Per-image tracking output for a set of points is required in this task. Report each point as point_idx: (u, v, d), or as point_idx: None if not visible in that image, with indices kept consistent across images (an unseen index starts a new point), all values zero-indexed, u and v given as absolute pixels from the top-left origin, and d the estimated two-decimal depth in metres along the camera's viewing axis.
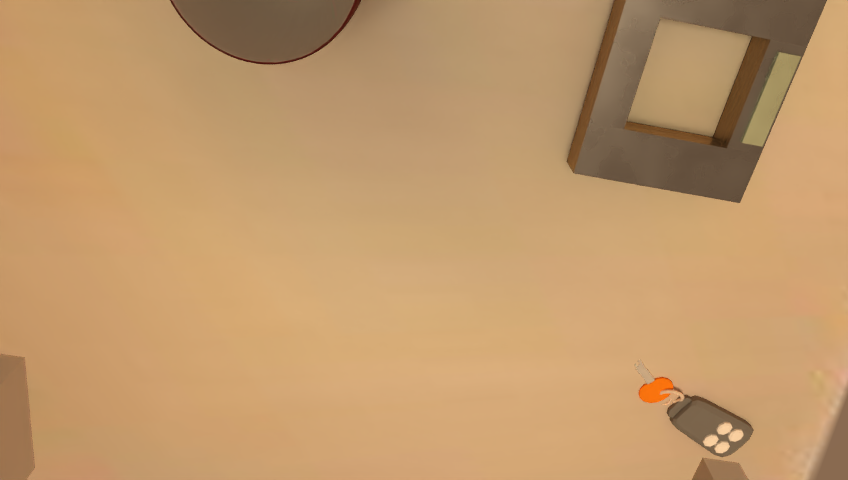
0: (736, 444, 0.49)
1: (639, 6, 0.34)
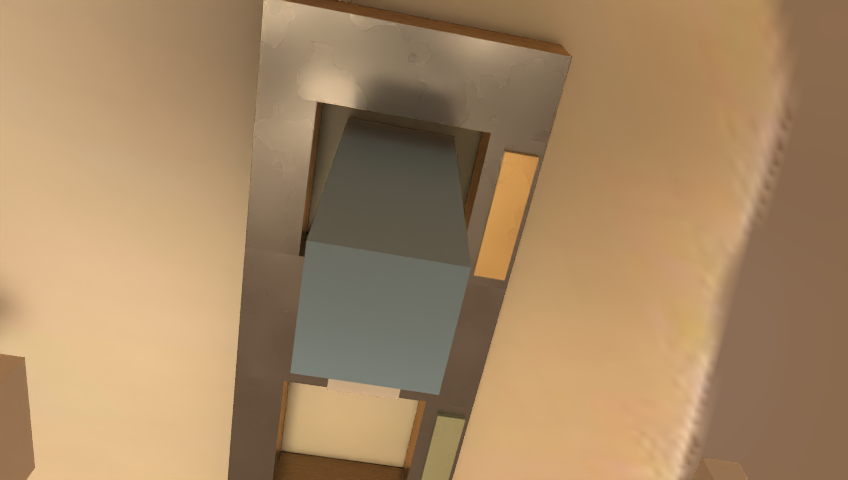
0: None
1: (255, 370, 0.28)
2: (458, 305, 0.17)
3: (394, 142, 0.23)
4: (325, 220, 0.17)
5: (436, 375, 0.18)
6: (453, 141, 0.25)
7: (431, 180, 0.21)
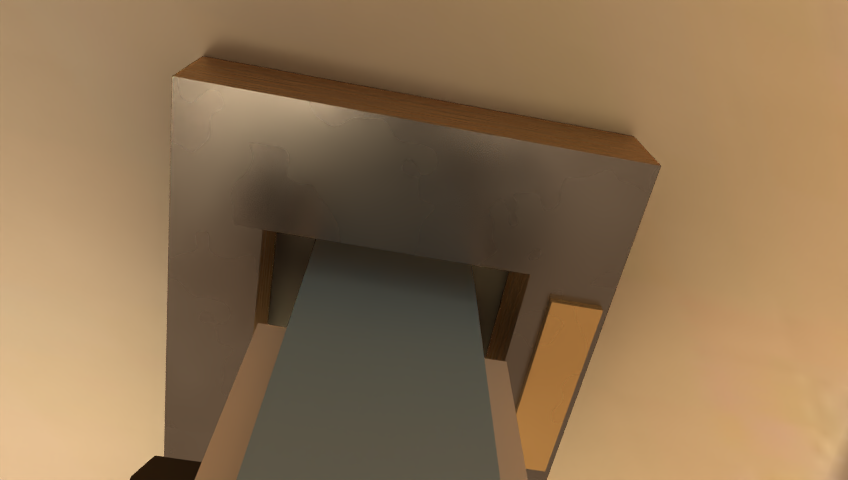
0: None
1: None
2: None
3: (383, 286, 0.15)
4: None
5: None
6: (471, 274, 0.17)
7: (440, 375, 0.13)
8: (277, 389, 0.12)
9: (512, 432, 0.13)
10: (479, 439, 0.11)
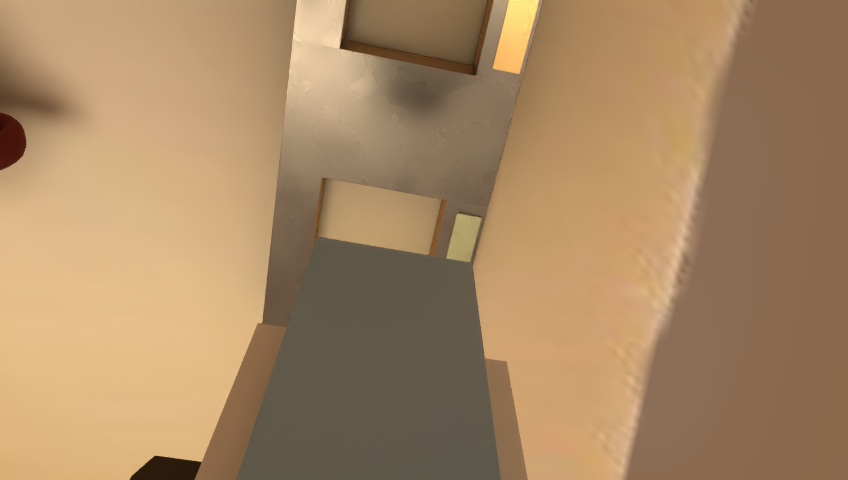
0: None
1: (296, 165, 0.31)
2: None
3: (383, 285, 0.15)
4: None
5: None
6: (471, 273, 0.17)
7: (441, 375, 0.13)
8: (277, 388, 0.12)
9: (512, 432, 0.13)
10: (479, 438, 0.11)
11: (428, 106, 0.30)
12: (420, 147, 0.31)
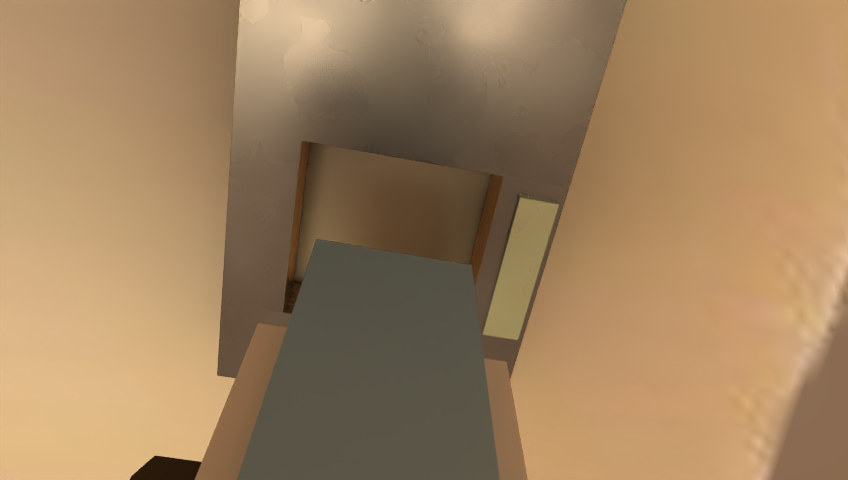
0: None
1: (260, 121, 0.19)
2: None
3: (382, 288, 0.15)
4: None
5: None
6: (471, 275, 0.17)
7: (440, 377, 0.13)
8: (277, 391, 0.12)
9: (512, 432, 0.13)
10: (479, 441, 0.11)
11: (478, 16, 0.18)
12: (463, 87, 0.19)
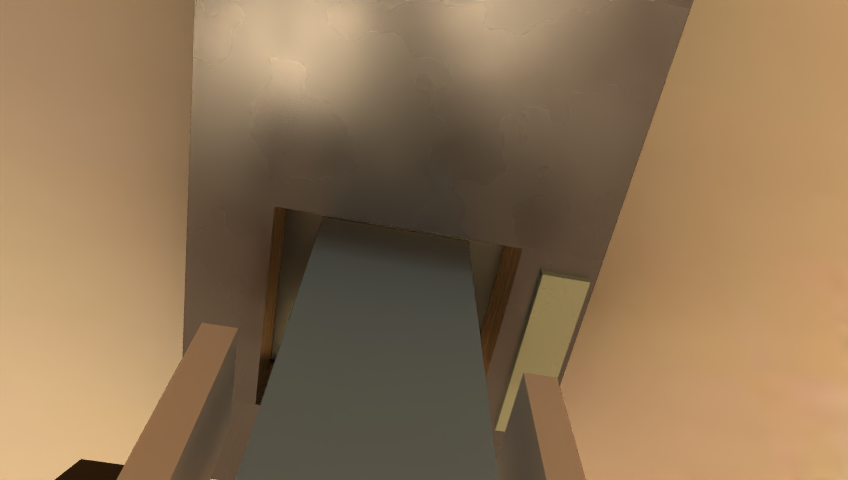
0: None
1: (222, 184, 0.15)
2: None
3: (385, 260, 0.17)
4: (262, 459, 0.10)
5: None
6: (467, 250, 0.18)
7: (438, 337, 0.14)
8: (289, 346, 0.13)
9: (571, 451, 0.13)
10: (473, 391, 0.13)
11: (493, 57, 0.14)
12: (473, 144, 0.15)
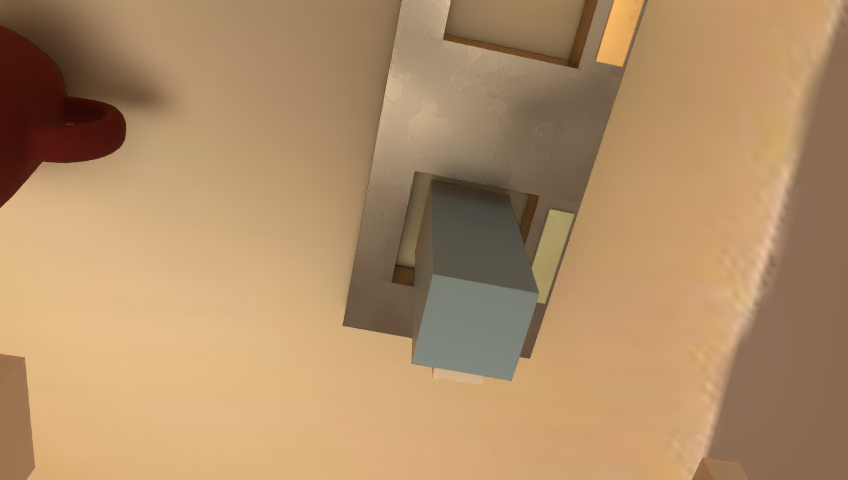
0: None
1: (390, 159, 0.31)
2: (529, 318, 0.25)
3: (468, 201, 0.32)
4: (440, 260, 0.25)
5: (510, 367, 0.26)
6: (509, 199, 0.33)
7: (500, 231, 0.29)
8: (436, 229, 0.28)
9: None
10: (519, 250, 0.28)
11: (528, 99, 0.30)
12: (516, 140, 0.30)
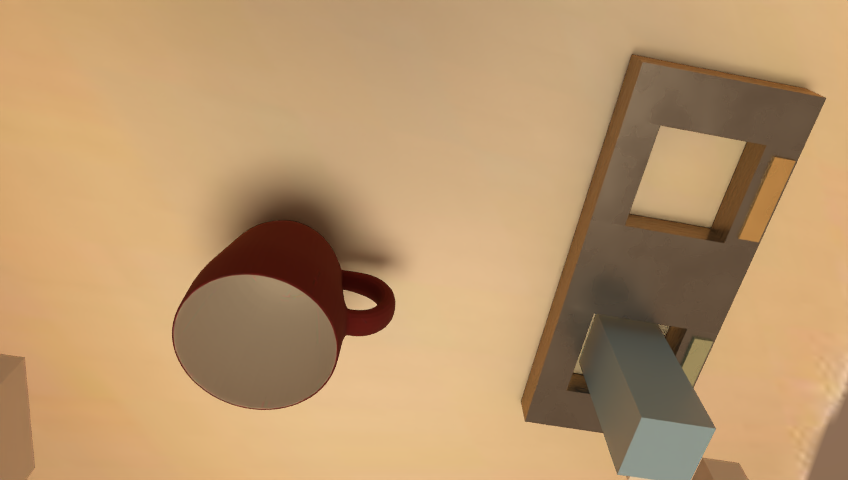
0: None
1: (575, 305, 0.41)
2: (706, 444, 0.35)
3: (631, 332, 0.42)
4: (640, 402, 0.35)
5: (689, 475, 0.36)
6: (658, 326, 0.43)
7: (666, 364, 0.39)
8: (623, 368, 0.38)
9: None
10: (686, 383, 0.38)
11: (685, 264, 0.39)
12: (673, 291, 0.40)
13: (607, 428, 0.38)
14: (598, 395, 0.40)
